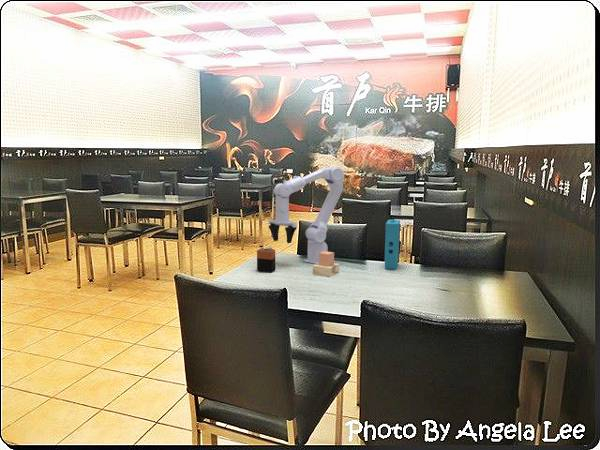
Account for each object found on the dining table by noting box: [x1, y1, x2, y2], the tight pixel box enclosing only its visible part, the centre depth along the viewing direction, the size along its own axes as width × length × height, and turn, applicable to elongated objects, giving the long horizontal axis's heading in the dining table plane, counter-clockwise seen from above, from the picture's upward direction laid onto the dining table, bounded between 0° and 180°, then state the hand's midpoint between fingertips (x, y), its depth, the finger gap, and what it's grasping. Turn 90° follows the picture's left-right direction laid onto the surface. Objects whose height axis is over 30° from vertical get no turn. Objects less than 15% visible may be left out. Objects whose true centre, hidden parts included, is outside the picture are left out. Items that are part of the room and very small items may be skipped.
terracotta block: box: [319, 251, 335, 267], centre depth 182 cm, size 4×4×5 cm
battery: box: [256, 246, 276, 273], centre depth 186 cm, size 4×7×10 cm, turn 68°
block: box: [384, 219, 401, 271], centre depth 192 cm, size 12×5×20 cm, turn 163°
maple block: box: [312, 262, 340, 278], centre depth 183 cm, size 8×8×4 cm
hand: (282, 241), depth 195 cm, fingers open, 7 cm apart
